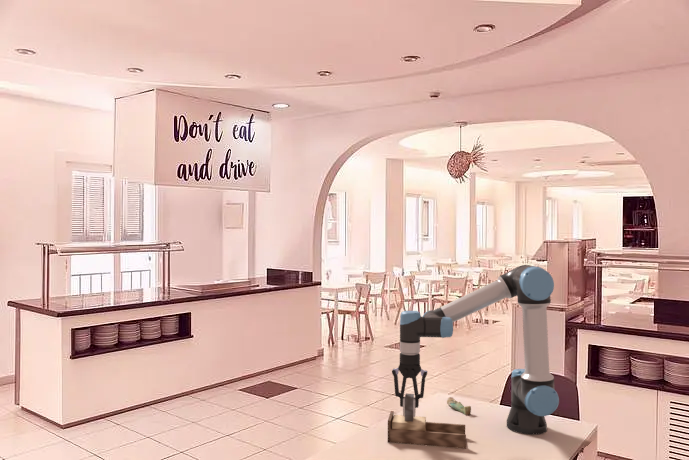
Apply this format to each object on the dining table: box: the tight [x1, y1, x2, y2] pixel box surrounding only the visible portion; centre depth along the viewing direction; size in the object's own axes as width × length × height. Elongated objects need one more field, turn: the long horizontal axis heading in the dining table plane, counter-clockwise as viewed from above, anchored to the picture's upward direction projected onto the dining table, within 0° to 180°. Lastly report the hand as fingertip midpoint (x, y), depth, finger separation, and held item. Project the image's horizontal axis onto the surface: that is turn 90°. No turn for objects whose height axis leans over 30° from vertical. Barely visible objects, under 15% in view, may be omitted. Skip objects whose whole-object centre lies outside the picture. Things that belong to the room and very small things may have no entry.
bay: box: [387, 410, 467, 450], centre depth 207 cm, size 28×11×8 cm, turn 79°
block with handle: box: [392, 393, 427, 431], centre depth 208 cm, size 12×8×15 cm
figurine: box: [446, 396, 472, 416], centre depth 242 cm, size 6×15×4 cm, turn 14°
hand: (409, 415), depth 208 cm, fingers closed on block with handle, 3 cm apart
